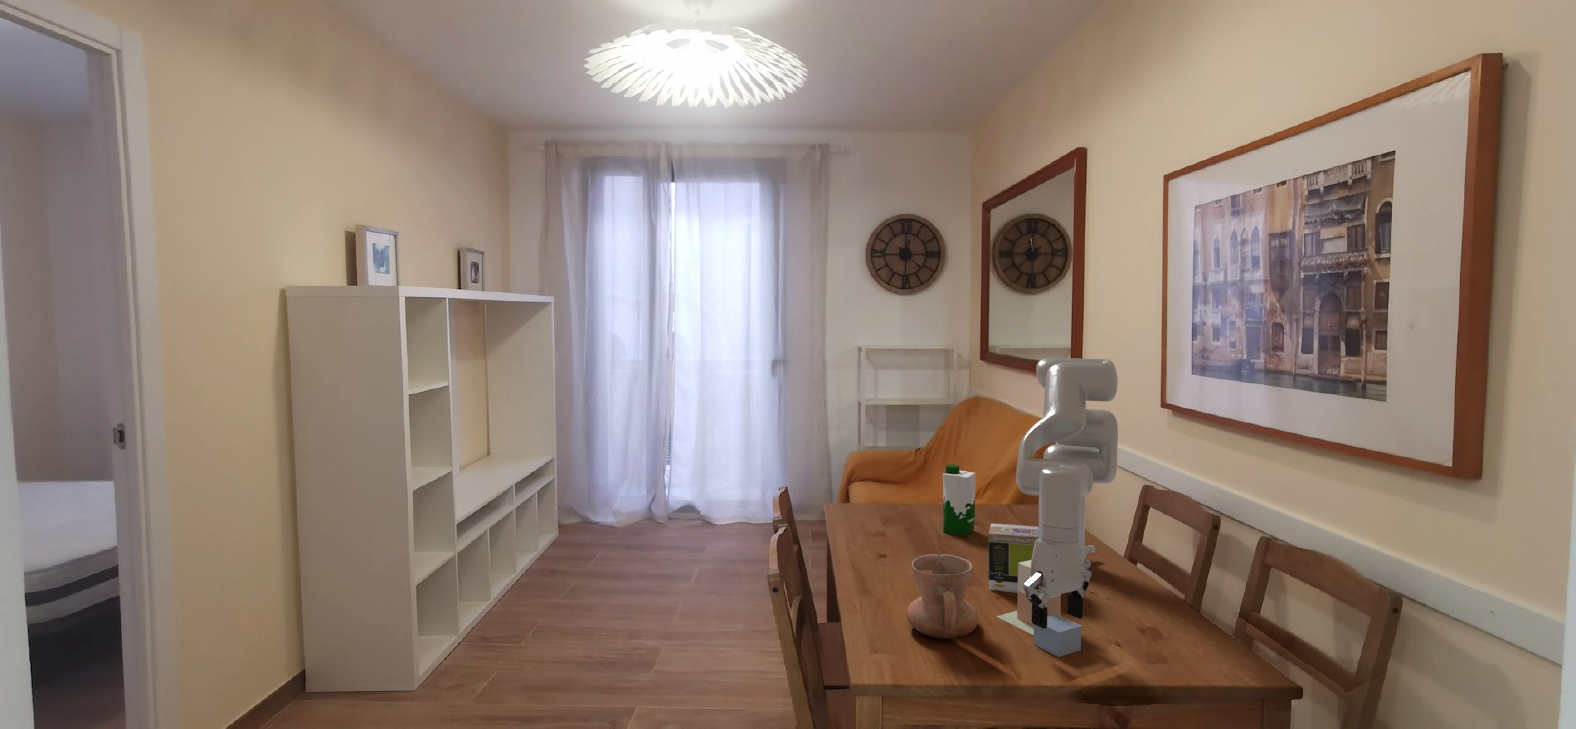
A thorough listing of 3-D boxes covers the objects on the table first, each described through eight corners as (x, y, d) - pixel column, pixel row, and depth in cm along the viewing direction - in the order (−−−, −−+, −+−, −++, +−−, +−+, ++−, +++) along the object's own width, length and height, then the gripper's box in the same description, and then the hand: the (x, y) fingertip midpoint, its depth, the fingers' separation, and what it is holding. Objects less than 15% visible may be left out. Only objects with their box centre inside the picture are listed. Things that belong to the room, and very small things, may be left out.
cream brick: (1037, 585, 151) (1038, 558, 151) (1060, 595, 146) (1061, 566, 145) (1017, 590, 148) (1018, 562, 148) (1040, 600, 143) (1040, 571, 142)
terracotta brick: (1037, 613, 151) (1037, 585, 151) (1060, 623, 146) (1060, 595, 146) (1017, 618, 148) (1017, 590, 148) (1039, 629, 143) (1040, 600, 143)
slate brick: (1055, 643, 140) (1055, 614, 139) (1080, 656, 134) (1081, 625, 134) (1033, 650, 137) (1034, 620, 137) (1058, 663, 132) (1058, 632, 131)
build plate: (1036, 610, 155) (1036, 605, 155) (1082, 631, 145) (1082, 625, 145) (996, 621, 150) (996, 616, 150) (1040, 644, 139) (1040, 638, 139)
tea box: (1054, 587, 169) (1055, 526, 168) (1056, 602, 160) (1057, 538, 159) (989, 579, 174) (990, 520, 173) (987, 594, 165) (988, 532, 164)
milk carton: (949, 525, 220) (950, 462, 219) (978, 530, 215) (978, 465, 214) (939, 532, 213) (939, 467, 211) (968, 537, 208) (969, 470, 206)
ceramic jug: (903, 611, 155) (903, 548, 154) (970, 613, 154) (970, 549, 153) (910, 651, 137) (910, 580, 136) (986, 653, 136) (986, 582, 135)
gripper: (1074, 522, 141) (1072, 606, 142) (1011, 533, 133) (1009, 622, 134) (1106, 531, 135) (1104, 619, 136) (1042, 544, 127) (1040, 637, 127)
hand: (1057, 620), depth 135 cm, fingers open, 9 cm apart
